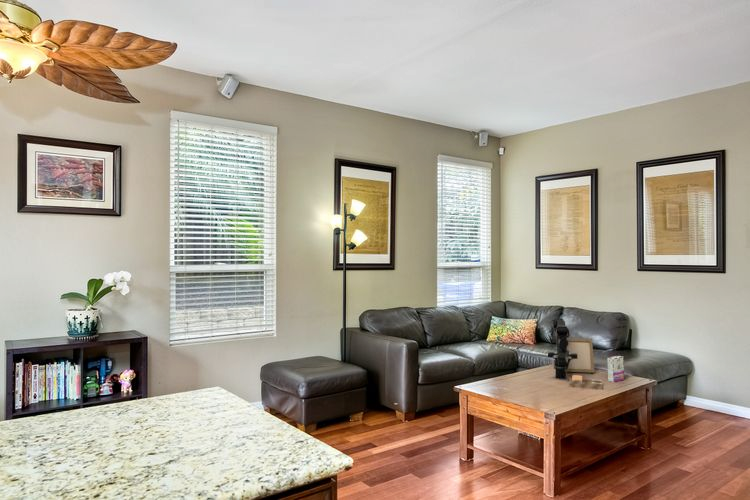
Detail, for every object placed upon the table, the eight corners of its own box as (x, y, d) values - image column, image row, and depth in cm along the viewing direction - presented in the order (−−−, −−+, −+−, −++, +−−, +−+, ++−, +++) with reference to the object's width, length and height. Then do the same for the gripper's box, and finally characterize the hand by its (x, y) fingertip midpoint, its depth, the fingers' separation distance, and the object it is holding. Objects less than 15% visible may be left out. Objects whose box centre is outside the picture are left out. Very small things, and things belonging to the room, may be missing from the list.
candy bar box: (618, 378, 353) (617, 355, 353) (624, 380, 349) (624, 356, 349) (607, 380, 348) (606, 357, 348) (613, 382, 344) (613, 358, 344)
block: (572, 384, 335) (572, 377, 335) (572, 382, 340) (572, 375, 340) (582, 385, 332) (581, 377, 332) (582, 383, 338) (582, 375, 338)
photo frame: (594, 373, 368) (593, 339, 369) (563, 372, 373) (562, 339, 374) (590, 369, 383) (589, 336, 384) (560, 368, 388) (559, 336, 389)
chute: (569, 386, 334) (568, 380, 334) (569, 383, 343) (569, 376, 343) (602, 389, 326) (601, 382, 326) (601, 385, 335) (601, 379, 335)
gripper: (546, 346, 337) (547, 369, 337) (576, 347, 329) (577, 371, 329) (548, 343, 347) (548, 366, 347) (577, 345, 339) (577, 368, 339)
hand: (562, 368), depth 340 cm, fingers open, 5 cm apart
